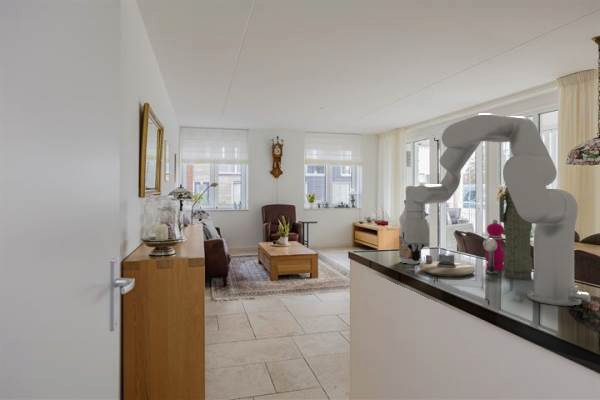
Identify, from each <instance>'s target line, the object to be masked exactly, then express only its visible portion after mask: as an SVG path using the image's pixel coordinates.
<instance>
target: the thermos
mask: <svg viewBox="0 0 600 400" xmlns="http://www.w3.org/2000/svg"><path fill="white" fill-rule="evenodd" d="M505 204H506V205H505ZM499 222H500V223H502V224H503V229H504V235H505V239H504V245H505V246H504V247H505V248H504V249H505V252H504V254H505V256H504V262H503V264H504V269H503V270H504V271H503V272H504V274H503V276H504V278H507V279H509V280H510V279H511V280H518V281H528V280H529V281H530V280H532V278H533V277H532V273H533V259H532V256H531V232H532V230H533V223H529V222H527V221H525V220H524V219H523V218H522V217H521V216H520V215H519V214H518V212H517V210H516V208H515V205H514V203H513V201H512V198H511V196H510V193H509V191H508V189H507V186H506V187H505V193H502V194H501V195H500V196H499Z"/></svg>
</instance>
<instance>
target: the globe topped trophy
mask: <svg viewBox="0 0 600 400" xmlns="http://www.w3.org/2000/svg"><path fill="white" fill-rule="evenodd" d="M482 246H483V249H484V250H485V252H487V251H489V269H487V270H485V274H487V275H498V270H497V271H496V270H494V250H496V248H497V242H496V241H495V240H494V239H492V238H485V239H484V240H483V241H482Z"/></svg>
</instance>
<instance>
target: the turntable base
mask: <svg viewBox="0 0 600 400" xmlns="http://www.w3.org/2000/svg"><path fill="white" fill-rule="evenodd" d="M424 272H425V273H426V274H429V275H433V276H438V277H447V278H460V277H461V278H462V277H467V276H469V275H470V274H465V275H446V274H436V273H430V272H426V271H424Z"/></svg>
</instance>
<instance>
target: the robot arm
mask: <svg viewBox="0 0 600 400" xmlns="http://www.w3.org/2000/svg"><path fill="white" fill-rule="evenodd" d="M441 134H442V135H441V142H442V145H443V147H445V148H446V149H445V150H444V152H443V153H442V155H441V156H440V158H439V163H440V166H441V167H443V168H444V169H445V170H446V172H445V175H444V176H443V178H442V180H441V181H440V183H439V184H433V183H429V184H428V183H427V184H420V185H407V186H406V187H405V200H406V219H404V220H403V226H402V241H403V243H402V245H403V246H405V247H408V248H409V249H410V250H411V258H412V260H414V261H419V259H420V251H421V252H422V249H423V248H424V247H428V246H430V243H429V241H430V232H429V225H428V219H426V217H428V216H429V212H426V205H427V204H428V205H429V204H430V205H431V204H443V203H446V202H447V201H449V200H450V199H451V197H453V195H455V194H454V193H456V191H457V189H458V188H459V186H460V183H461V177H462V175H461V171H462V170H463V168H464V167H465V165H466V164H467V162H469V160H470V158H471V157H472V156H473V154H474V152H476V150H477V149H478V148H479V146H480V144H481V143H482V142H488V143H489V142H491V143H509V149H510V152H511V154H512V156H510V158H509V159H507V160H506V162H505V163H504V165H503V170H502V176H503V177H502V178H503V180H504V183H505V186H506V187H507V189H508V191H509V193H510V196H511V198H512V201H513V203H514V205H515V208H516V210H517V212H518V214H519V215H520V216H521V217H522V218H523V219H524V220H525V221H527V222H529V223H533V224H535V228H534V231H533V290H529V291H528V292H527V297H528V299H530V300H532V301H534V302H537V303H542V304H547V305H554V306H559V307H562V306H563V307H573V306H574V305H576V306H580V305H581V304H582V301H583V302H586V303H590V302H591V300H592V296H591V294H590V293H588V292H583V291H580V290H579V287H580V286H579V285H575V234H576V233H575V232H576V224H577V223H576V222H577V218H578V213H579V206H578V201H577V200H576V198H575V197H574V196H573V194H571V192H568V191H566V190H564V189H559V188H547V186H549V185H551V184H553V183H554V181H556V178H557V175H558V173H557V167H556V165H555V163H554V161H553V160H552V157H551V155H550V153H549V150H548V148H547V146H546V145H545V143H544V140H543V138H542V137H541V135H540V132H539V129H538V128H537V126H536V124H535V123H534V121H532V120H531V119H530V118H528V117H525V116H520V115H518V116H517V115H516V116H515V115H510V116H509V115H503V114H495V113H479V114H476V115H473V116H470V117H467V118H464V119H462V120H459V121H455V122H454V123H451V124H450V125H448V126H447V127H445V129H444V130H443V132H442V133H441ZM533 224H532V225H533ZM407 243H408V244H407ZM415 244H416V250H415Z"/></svg>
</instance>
